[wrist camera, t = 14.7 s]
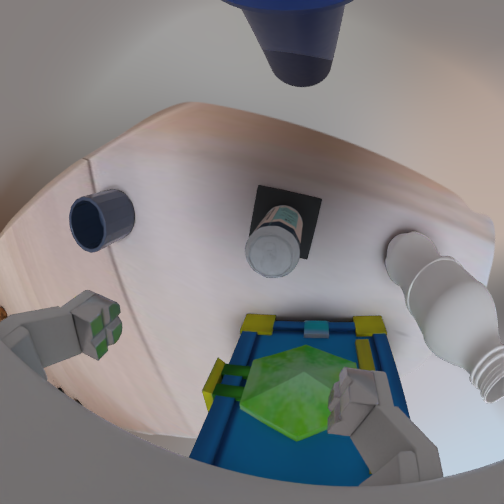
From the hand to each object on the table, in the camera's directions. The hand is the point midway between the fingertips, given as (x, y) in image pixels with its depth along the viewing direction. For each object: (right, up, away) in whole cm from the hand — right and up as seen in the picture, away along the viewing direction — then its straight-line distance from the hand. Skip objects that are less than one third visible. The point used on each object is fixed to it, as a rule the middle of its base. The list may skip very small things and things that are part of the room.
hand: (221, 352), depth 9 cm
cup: (-21, +9, +30) cm, 38 cm away
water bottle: (+22, +3, +24) cm, 32 cm away
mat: (+5, +7, +26) cm, 27 cm away
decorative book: (+11, -10, +31) cm, 34 cm away
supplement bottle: (+5, +7, +25) cm, 27 cm away
